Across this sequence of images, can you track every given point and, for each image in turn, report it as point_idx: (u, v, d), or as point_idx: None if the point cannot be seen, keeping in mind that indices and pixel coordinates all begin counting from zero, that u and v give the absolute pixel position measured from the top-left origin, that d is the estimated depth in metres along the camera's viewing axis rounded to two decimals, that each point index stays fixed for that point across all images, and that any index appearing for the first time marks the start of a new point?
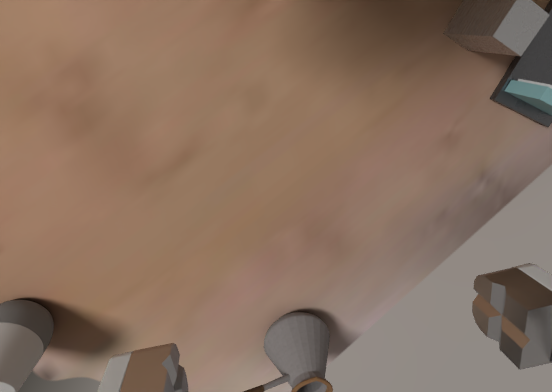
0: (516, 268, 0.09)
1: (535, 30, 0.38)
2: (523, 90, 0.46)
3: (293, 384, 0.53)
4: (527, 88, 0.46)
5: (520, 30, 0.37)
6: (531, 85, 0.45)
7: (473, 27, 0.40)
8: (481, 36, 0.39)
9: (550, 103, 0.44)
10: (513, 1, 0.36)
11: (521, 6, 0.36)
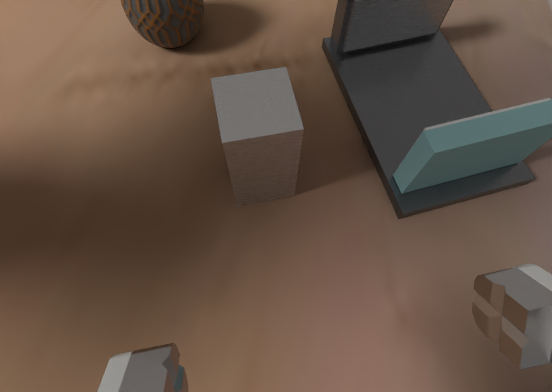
0: (516, 269, 0.09)
1: (285, 92, 0.20)
2: (412, 168, 0.24)
3: None
4: (412, 161, 0.24)
5: (260, 107, 0.20)
6: (410, 153, 0.24)
7: None
8: (230, 160, 0.21)
9: (461, 143, 0.21)
10: (213, 93, 0.21)
11: (230, 88, 0.20)
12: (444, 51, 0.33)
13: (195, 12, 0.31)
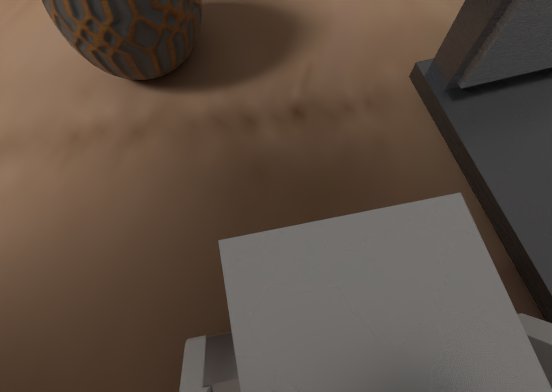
0: None
1: (480, 297, 0.06)
2: None
3: None
4: None
5: (405, 374, 0.05)
6: None
7: None
8: None
9: None
10: None
11: (285, 282, 0.06)
12: None
13: (186, 17, 0.16)
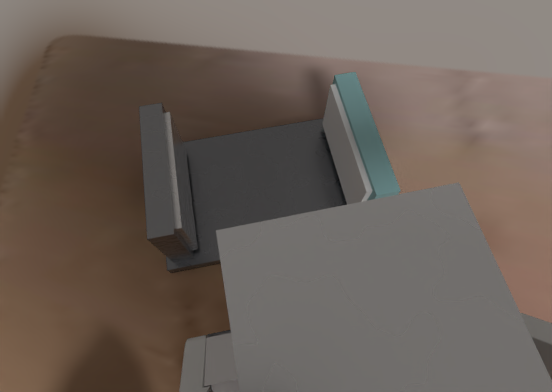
0: None
1: (478, 286, 0.06)
2: None
3: None
4: None
5: (403, 362, 0.05)
6: None
7: None
8: None
9: (388, 166, 0.23)
10: None
11: (283, 272, 0.06)
12: (208, 145, 0.31)
13: None
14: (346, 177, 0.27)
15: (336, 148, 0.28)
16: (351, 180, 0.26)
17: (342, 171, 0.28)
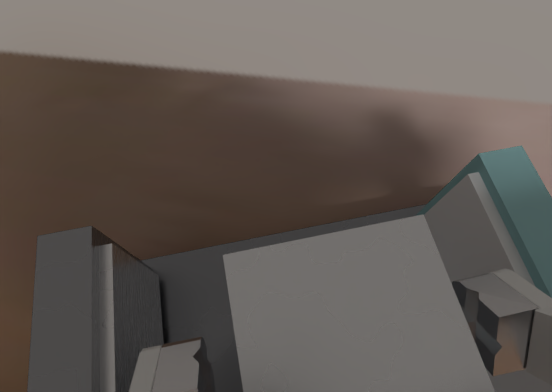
0: (491, 274, 0.09)
1: (435, 302, 0.07)
2: None
3: None
4: None
5: (372, 362, 0.07)
6: None
7: None
8: None
9: None
10: None
11: (277, 289, 0.07)
12: (202, 265, 0.17)
13: None
14: None
15: None
16: None
17: None
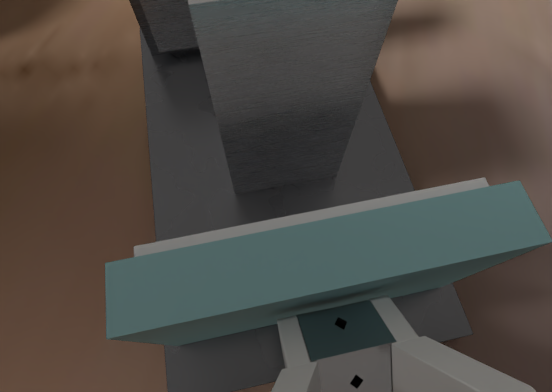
0: (368, 301, 0.09)
1: None
2: None
3: None
4: None
5: None
6: None
7: None
8: None
9: (194, 311, 0.07)
10: None
11: None
12: None
13: None
14: None
15: None
16: None
17: None
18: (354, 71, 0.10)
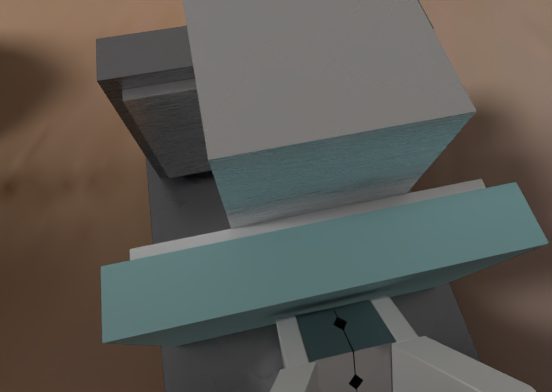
0: (368, 301, 0.09)
1: (363, 107, 0.06)
2: None
3: None
4: None
5: (294, 44, 0.06)
6: None
7: None
8: None
9: (191, 315, 0.07)
10: None
11: None
12: None
13: None
14: None
15: None
16: None
17: None
18: (394, 184, 0.08)
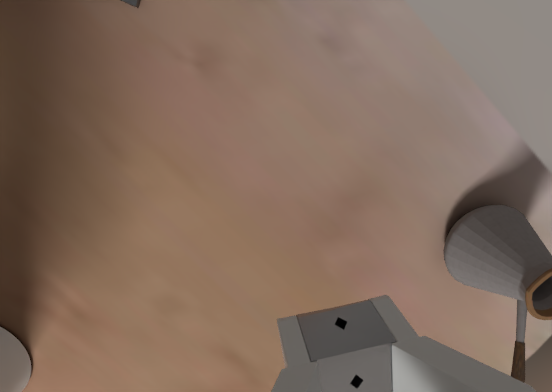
0: (368, 301, 0.09)
1: None
2: None
3: None
4: None
5: None
6: None
7: None
8: None
9: None
10: None
11: None
12: None
13: None
14: None
15: None
16: None
17: None
18: None
